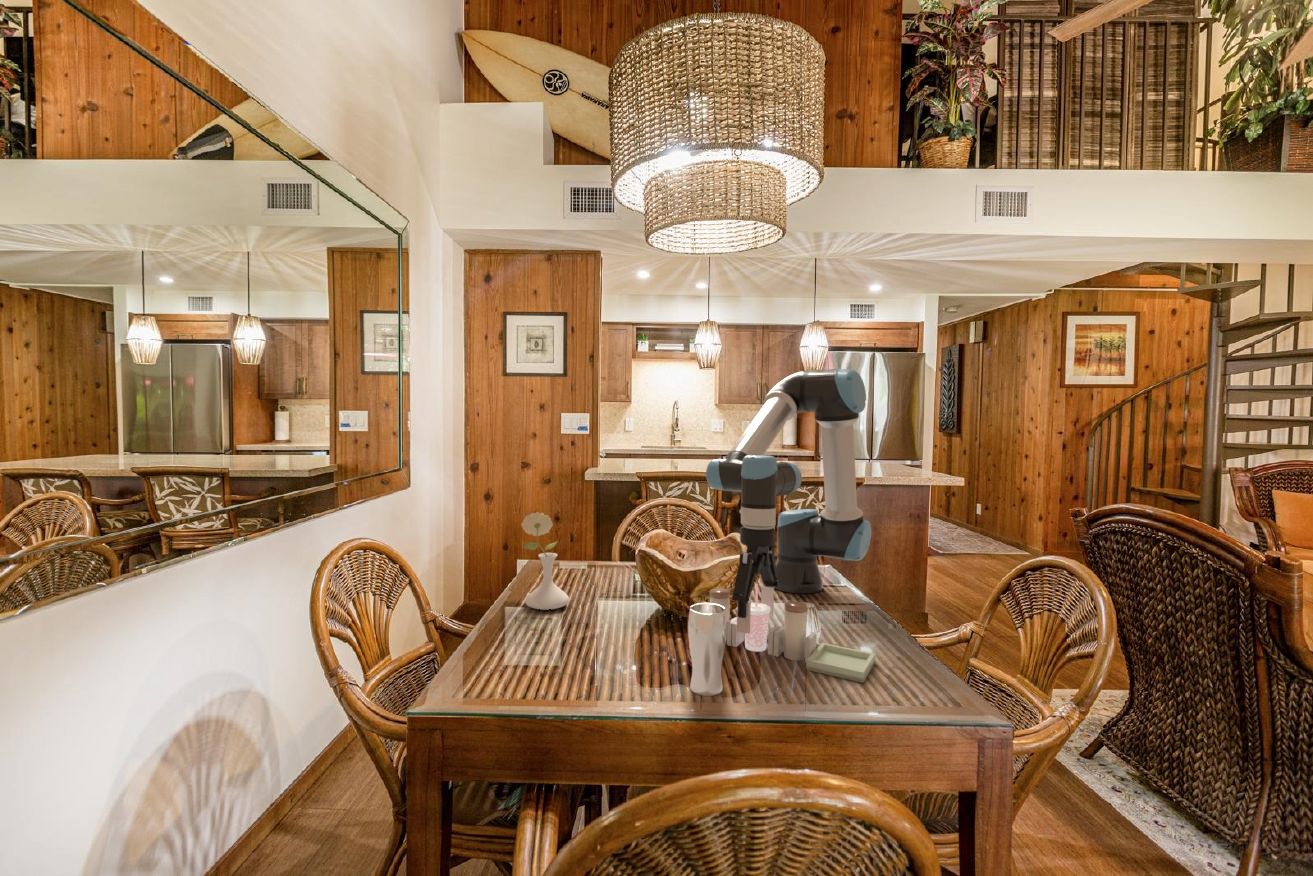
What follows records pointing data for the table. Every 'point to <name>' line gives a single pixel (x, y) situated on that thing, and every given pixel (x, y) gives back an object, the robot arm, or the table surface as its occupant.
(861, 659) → the tray
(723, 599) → the cylinder
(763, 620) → the beverage cup
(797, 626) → the cylinder
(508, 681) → the table surface
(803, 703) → the table surface
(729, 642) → the holder
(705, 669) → the beer glass
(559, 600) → the flower in vase
